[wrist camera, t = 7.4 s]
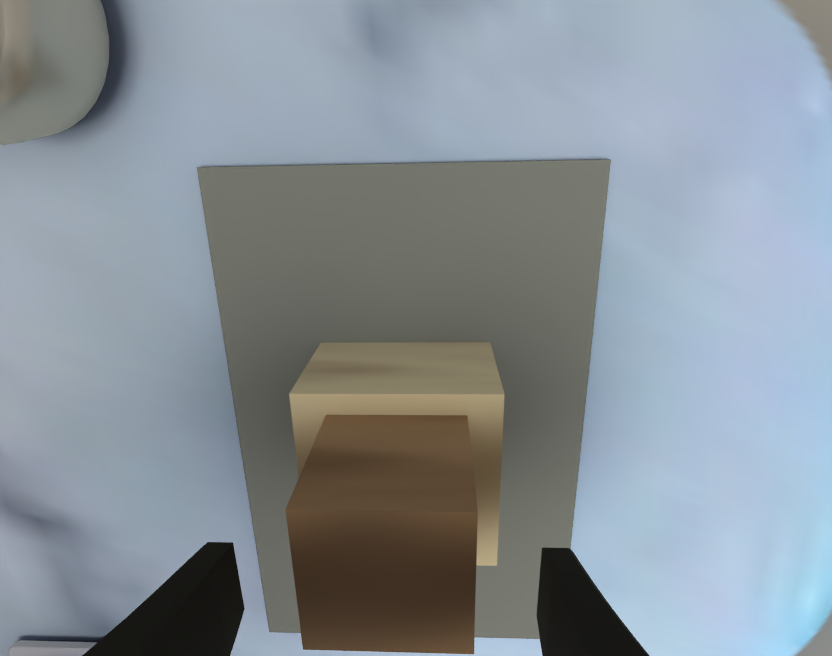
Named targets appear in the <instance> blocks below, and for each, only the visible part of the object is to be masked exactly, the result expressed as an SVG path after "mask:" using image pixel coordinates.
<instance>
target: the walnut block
mask: <svg viewBox="0 0 832 656" xmlns="http://www.w3.org/2000/svg"><path fill="white" fill-rule="evenodd" d="M285 511H286V519H287V527H288V534H289V542H290V550H291V558H292V566H293V574H294V582H295V589H296V597H297V605H298V613H299V621H300V629H301V637H302V644H303V649H305V650H342V651H379V652H415V653H452V654H474V632H475V596H476V560H477V523H478V509H477V500H476V491H475V482H474V472H473V463H472V454H471V445H470V435H469V426H468V417H467V415H326V416H325V418H324V420H323V423H322V425H321V427H320V430H319V432H318V434H317V437H316V439H315V441H314V444H313V446H312V448H311V451H310V453H309V455H308V458H307V460H306V462H305V465H304V467H303V469H302V472H301V474H300V476H299V479H298V481H297V483H296V486H295V488H294V490H293V493H292V495H291V497H290V500H289V502H288V504H287V507H286V509H285Z"/></svg>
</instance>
